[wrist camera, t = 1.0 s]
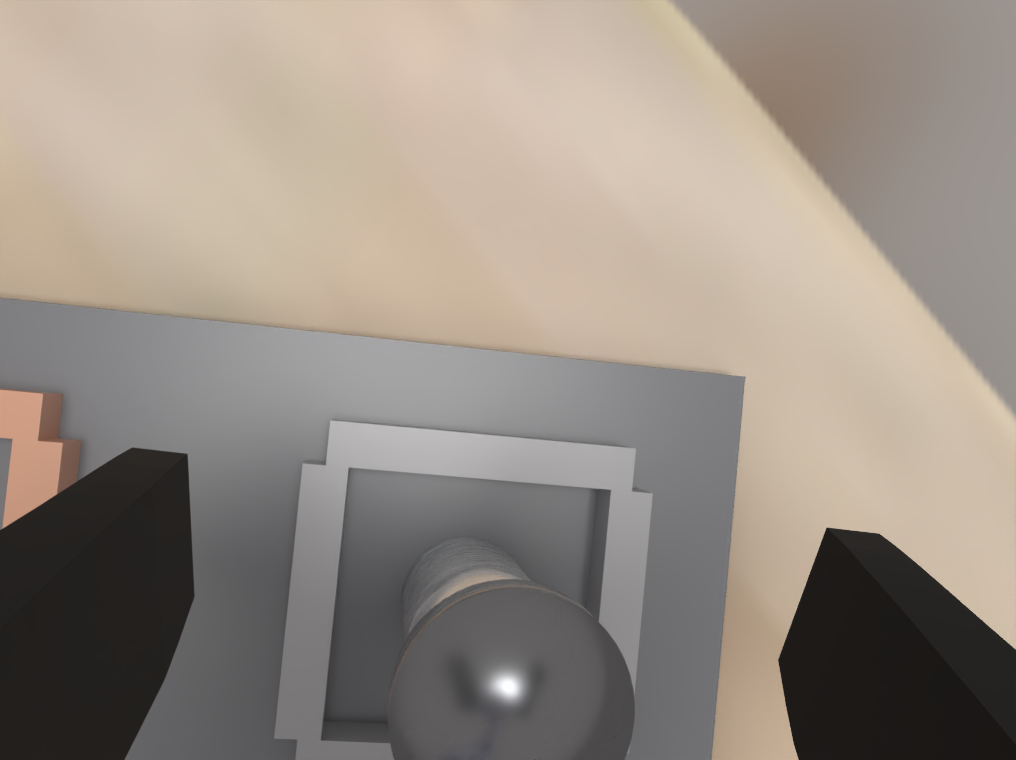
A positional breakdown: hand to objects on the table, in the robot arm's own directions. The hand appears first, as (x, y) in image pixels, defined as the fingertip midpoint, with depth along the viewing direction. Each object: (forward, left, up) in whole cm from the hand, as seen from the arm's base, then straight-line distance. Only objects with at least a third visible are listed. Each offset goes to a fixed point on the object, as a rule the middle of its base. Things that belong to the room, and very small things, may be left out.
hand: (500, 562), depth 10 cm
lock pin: (-3, -1, -11) cm, 12 cm away
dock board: (-3, +6, -12) cm, 14 cm away
